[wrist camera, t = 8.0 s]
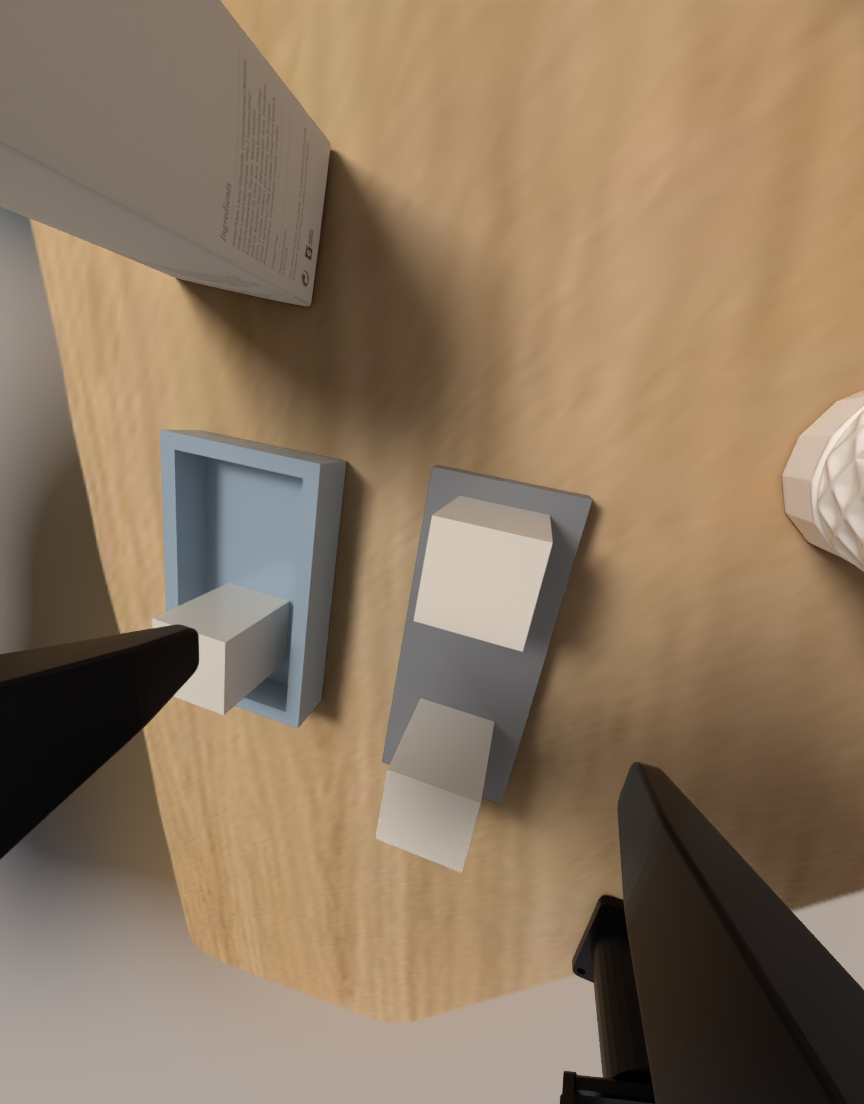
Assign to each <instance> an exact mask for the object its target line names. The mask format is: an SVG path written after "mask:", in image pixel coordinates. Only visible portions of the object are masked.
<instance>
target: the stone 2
mask: <svg viewBox="0 0 864 1104" xmlns="http://www.w3.org/2000/svg"><path fill="white" fill-rule="evenodd" d="M552 544H553V540H552V531H551V522H550V515H547V514H543V513H538V512H533V511H529V510H524V509H519V508H515V507H510V506H505V505H501V504H496V503H492V502H487V501H482V500H478V499H473V498H468V497H464V496H459V497H457V498H456V499H455V500H453V501H452V502H450V503H449V504H447V505H446V506H445V507H443V508H442V509H440V510H439V511H437V512H436V513H435V514H433V515H432V519H431V524H430V530H429V536H428V541H427V547H426V553H425V558H424V564H423V570H422V575H421V581H420V587H419V592H418V598H417V604H416V610H415V615H414V621H415V622H419V623H422V624H426V625H429V626H433V627H436V628H440V629H443V630H447V631H451V632H454V633H458V634H461V635H465V636H468V637H472V638H475V639H479V640H482V641H486V642H489V643H493V644H497V645H500V646H504V647H507V648H511V649H514V650H518V651H521V652H523V649H524V645H525V642H526V638H527V634H528V631H529V627H530V624H531V620H532V616H533V613H534V609H535V605H536V602H537V598H538V595H539V591H540V587H541V584H542V580H543V576H544V573H545V569H546V566H547V562H548V558H549V555H550V551H551V547H552Z"/></svg>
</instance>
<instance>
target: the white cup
mask: <svg viewBox="0 0 864 1104" xmlns="http://www.w3.org/2000/svg"><path fill="white" fill-rule="evenodd" d="M782 483H783V495H784V506H785V513H786V514H787V516H788V517H789V518H790V519H791V521H792V522H793V523H794V525H795V526H796V527H797V529H798V530H799V531H800V532H801V534H802V535H803V536H804V538H805V539H806V540H807V541H808V542H809V543H811V544H813V545H815V546H817V547H819V548H821V549H824V550H826V551H828V552H830V553H832V554H835V555H837V556H839V557H841V558H843V559H845V560H846V561H848V562H850V563H852V564H854V565H855V566H856V567H858V568H859V569H860V570H862V571H863V572H864V390H861V391H859V392H857V393H855V394H852V395H850V396H848V397H845V398H843V399H841V400H838V401H836V402H835V403H834V404H833V405H832V406H831V407H830V408H829V409H828V410H827V411H825V412H824V413H823V414H822V415H821V416H820V417H819V418H818V419H817V420H816V421H815V422H814V423H813V424H812V425H810V426H809V427H808V428H807V429H806V430H805V431H804V432H803V433H802V434H801V435H800V436H799V438H798V440H797V442H796V444H795V447H794V449H793V451H792V453H791V456H790V458H789V460H788V462H787V465H786V467H785V469H784V471H783V474H782Z"/></svg>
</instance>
